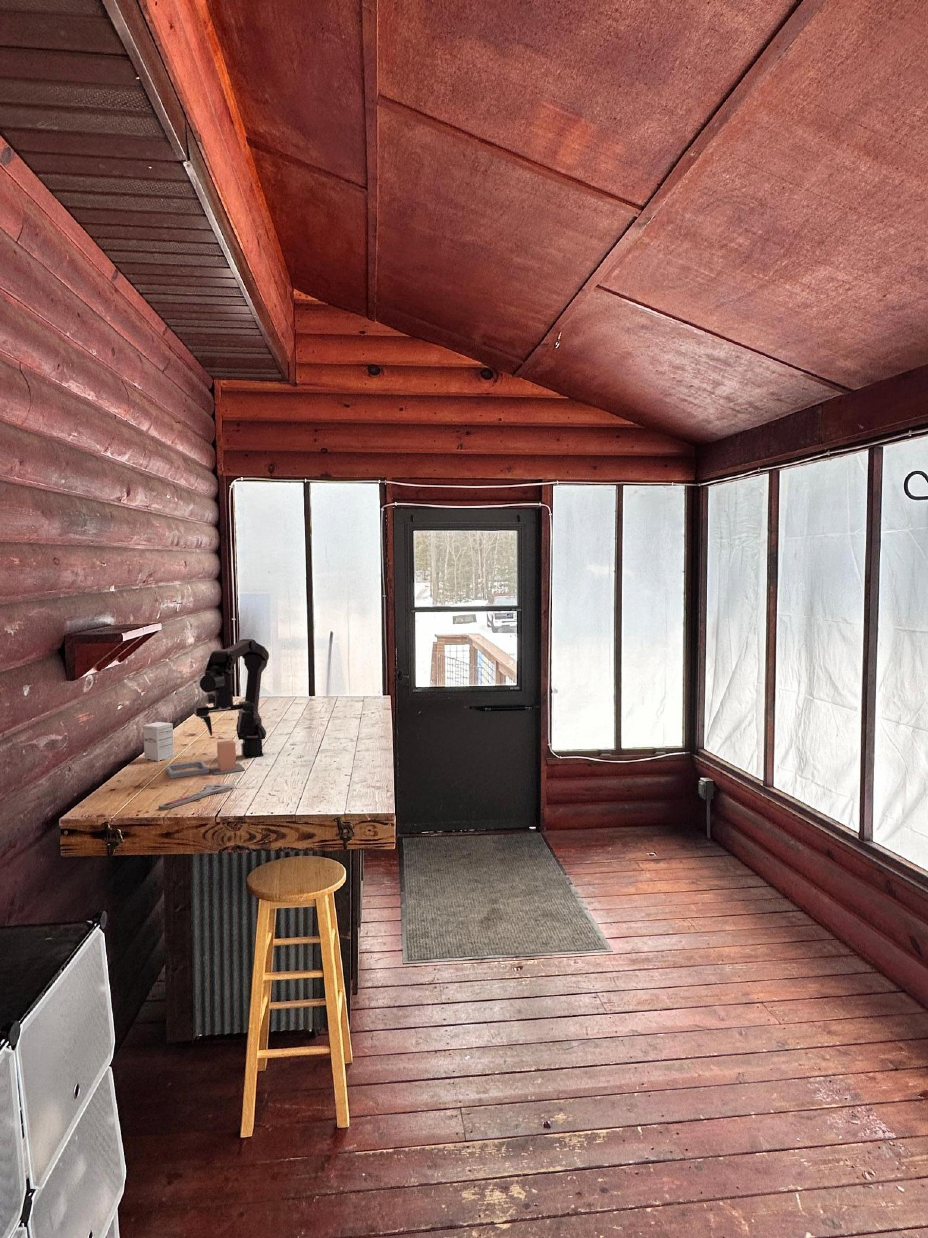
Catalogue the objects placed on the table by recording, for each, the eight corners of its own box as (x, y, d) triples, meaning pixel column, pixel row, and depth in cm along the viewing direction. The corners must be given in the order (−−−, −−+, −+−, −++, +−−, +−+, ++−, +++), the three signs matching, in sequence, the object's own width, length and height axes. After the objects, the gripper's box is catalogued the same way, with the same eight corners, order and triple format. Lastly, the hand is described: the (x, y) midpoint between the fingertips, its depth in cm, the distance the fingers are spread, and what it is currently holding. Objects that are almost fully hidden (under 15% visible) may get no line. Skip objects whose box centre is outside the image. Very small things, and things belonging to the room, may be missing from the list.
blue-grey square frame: (202, 765, 254) (202, 761, 254) (208, 773, 244) (208, 768, 243) (166, 770, 248) (166, 766, 248) (171, 778, 238) (171, 773, 238)
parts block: (233, 765, 251) (232, 739, 250) (236, 769, 246) (235, 742, 246) (218, 768, 248) (216, 741, 248) (221, 771, 244) (219, 744, 243)
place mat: (239, 764, 254) (239, 763, 254) (245, 770, 245) (245, 769, 245) (209, 768, 249) (209, 767, 249) (214, 775, 240) (214, 774, 240)
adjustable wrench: (147, 808, 210) (147, 800, 210) (225, 784, 231) (224, 778, 230) (163, 813, 205) (163, 806, 205) (241, 789, 226) (241, 782, 225)
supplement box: (143, 759, 263) (142, 725, 262) (160, 755, 270) (159, 721, 269) (157, 762, 260) (156, 726, 259) (174, 757, 266) (173, 722, 266)
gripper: (246, 682, 257) (248, 726, 258) (190, 687, 248) (192, 733, 249) (253, 686, 247) (255, 732, 248) (195, 691, 238) (197, 739, 239)
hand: (225, 733), depth 246 cm, fingers open, 9 cm apart
